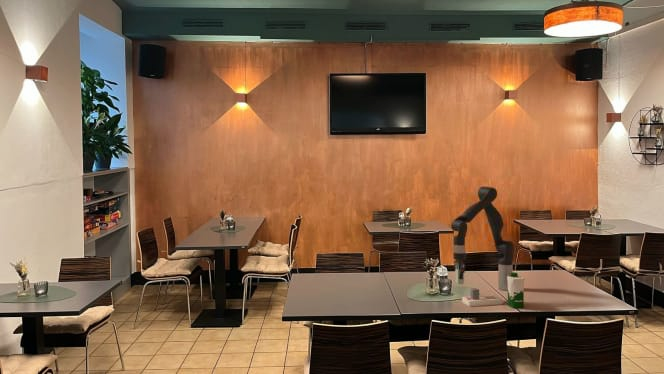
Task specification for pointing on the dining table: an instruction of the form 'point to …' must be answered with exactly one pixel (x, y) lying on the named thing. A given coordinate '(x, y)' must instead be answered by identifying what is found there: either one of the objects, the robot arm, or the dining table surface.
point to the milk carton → (515, 290)
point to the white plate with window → (481, 299)
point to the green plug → (458, 281)
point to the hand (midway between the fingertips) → (459, 278)
